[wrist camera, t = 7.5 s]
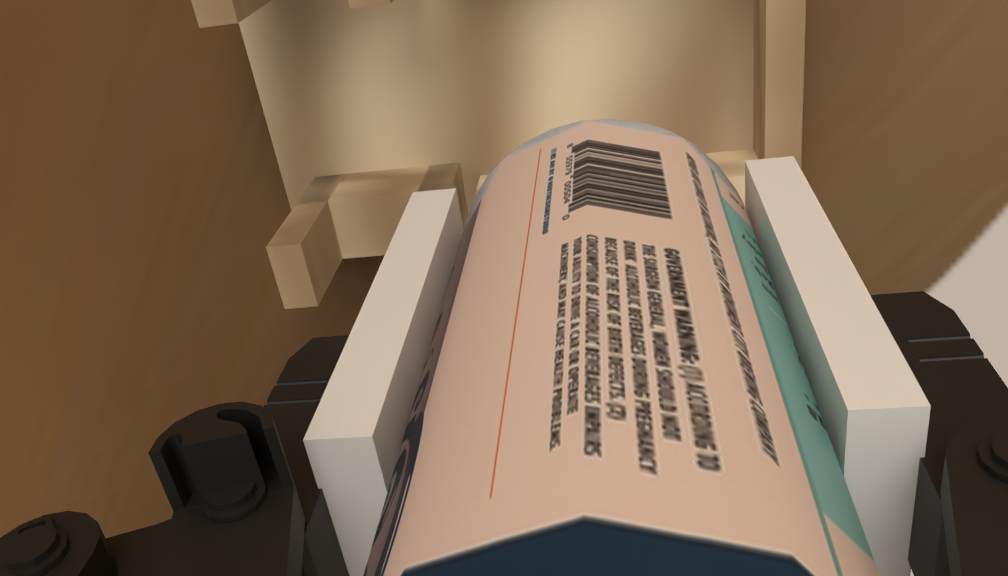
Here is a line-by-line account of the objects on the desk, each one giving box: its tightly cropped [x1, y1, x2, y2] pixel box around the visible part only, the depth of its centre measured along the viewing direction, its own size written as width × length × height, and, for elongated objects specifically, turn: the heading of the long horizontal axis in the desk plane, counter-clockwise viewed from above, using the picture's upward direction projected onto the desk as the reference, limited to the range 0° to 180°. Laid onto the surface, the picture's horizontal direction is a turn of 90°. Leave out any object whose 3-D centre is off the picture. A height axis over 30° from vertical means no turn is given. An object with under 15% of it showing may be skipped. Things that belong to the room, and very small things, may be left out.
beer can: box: [363, 119, 880, 576], centre depth 10 cm, size 5×5×12 cm
